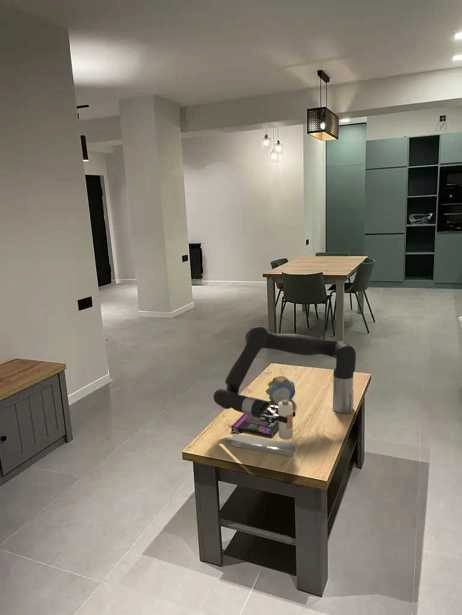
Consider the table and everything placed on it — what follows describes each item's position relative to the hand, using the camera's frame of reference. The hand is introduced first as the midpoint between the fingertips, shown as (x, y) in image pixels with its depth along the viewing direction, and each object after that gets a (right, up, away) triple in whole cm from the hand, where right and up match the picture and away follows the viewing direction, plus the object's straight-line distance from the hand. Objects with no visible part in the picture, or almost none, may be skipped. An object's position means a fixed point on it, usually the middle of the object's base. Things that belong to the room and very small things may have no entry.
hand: (291, 417), depth 182 cm
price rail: (-13, -14, +4) cm, 19 cm away
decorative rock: (+1, -4, +52) cm, 52 cm away
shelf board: (-11, -14, +8) cm, 20 cm away
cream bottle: (-2, -8, +3) cm, 9 cm away
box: (-12, -11, +24) cm, 29 cm away
